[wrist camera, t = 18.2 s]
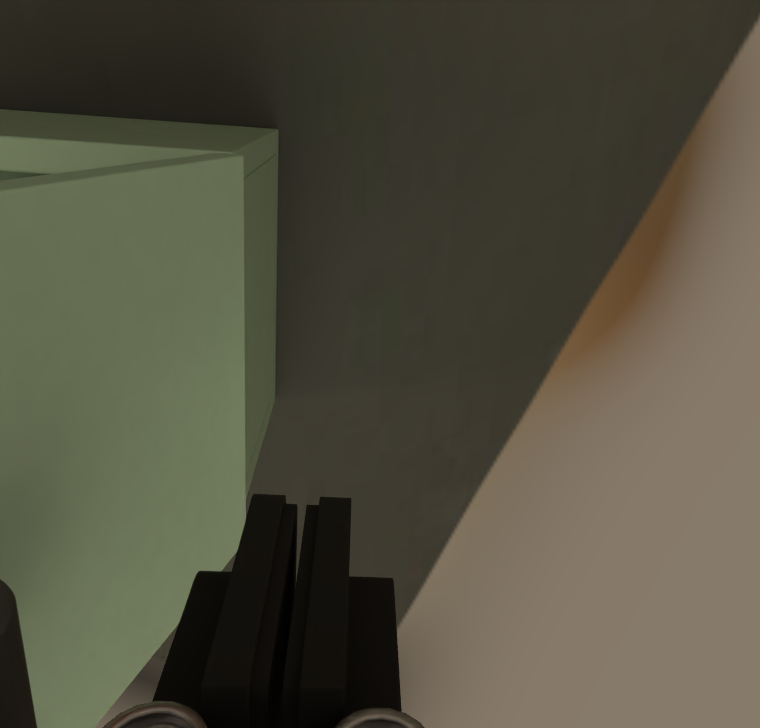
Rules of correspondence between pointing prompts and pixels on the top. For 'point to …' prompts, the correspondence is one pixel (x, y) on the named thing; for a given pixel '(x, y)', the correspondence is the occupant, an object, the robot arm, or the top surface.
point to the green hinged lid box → (165, 141)
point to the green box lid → (114, 420)
